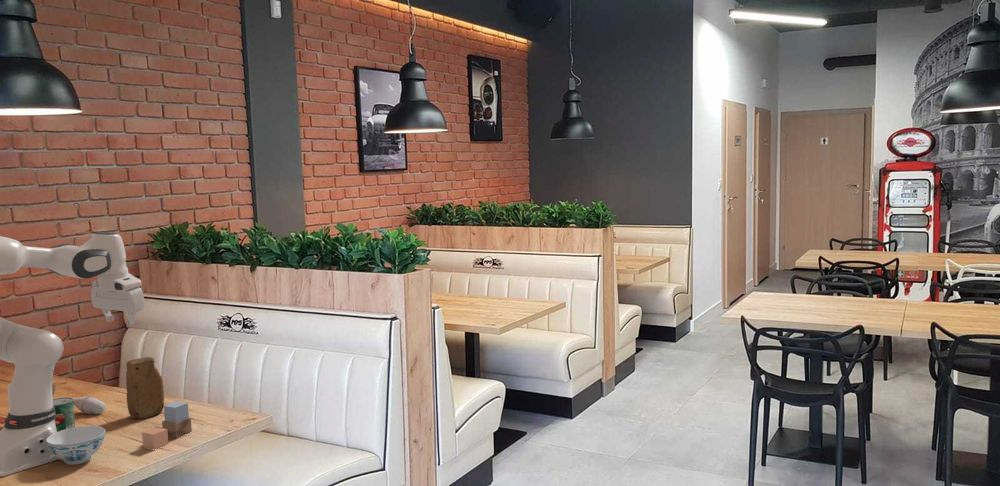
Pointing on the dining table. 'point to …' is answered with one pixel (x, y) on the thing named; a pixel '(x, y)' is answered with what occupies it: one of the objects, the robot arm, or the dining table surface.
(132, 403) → the brown oval lump
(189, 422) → the tower base
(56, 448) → the chinaware
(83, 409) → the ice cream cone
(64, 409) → the canned tomato
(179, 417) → the tower mid
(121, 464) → the dining table surface
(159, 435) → the cube
